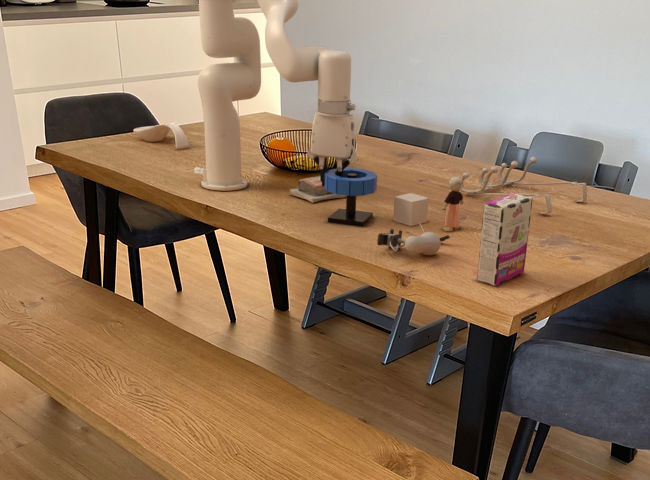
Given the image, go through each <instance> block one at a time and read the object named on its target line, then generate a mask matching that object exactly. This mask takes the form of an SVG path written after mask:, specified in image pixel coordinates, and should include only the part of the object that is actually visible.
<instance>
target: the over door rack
mask: <svg viewBox="0 0 650 480" xmlns="http://www.w3.org/2000/svg"><path fill="white" fill-rule="evenodd" d="M537 162H538V158H537V157H535V156H532V157H530V159H529V162H528V163H527V164H526V166H525V167H524V170H523V172H522V174H521V177H519V178H518V179H516V180H508V177H509V175H510V173H511V171H512V170H513V169H516V168H517V167H518V166H519V162H518V161H517V160H513V161H511V163H510V167H509V168H508V169H507V170H506V172H505V174H504V177H503V172H504V170H505V169H506V168H507V167H508V164H507V163H506V162H502V164H501V166H500V167H501V168H500V170H499V168H498V167H497V166H496V165H492V166H491V167H490V171H489V168H488V167H487V166H485V167H483V168H482V172H481V174H480V175H479V183H480V185H481V186H482V187H480V188H477V189H467V188H465V186H464V182H465V180H466V179H468V178H469V177H470V174H469V173H468V172H463V174H462V177H461V179H462V181H463V183H462V184H461V189H460V190H461V191H462V192H464V193H466V194H467V195H468V196H507V195H511V194H512V193H508V192H507V193H506V192H505V193H503V192H501V193H500V192H499V193H498V192H497V193H496V192H495V193H494V192H485V191H488V190H491V189H495V188H500V187H504V186H538V185H539V186H540V185H541V186H543V185H545V186H546V185H571V186H578V185H581V186H582V199H578V200H575V202H576V203H583V202H584V203H585V202H587V200H588V190H587V189H588V188H587V183H586V182H578V181H556V182H555V181H553V182H552V181H551V182H549V181H548V182H521V181H522V180H524V178H525V177H526V175H527V172H528V170H529V169H530V167H531V166H532V165H535V164H537ZM498 170H499V171H498ZM488 172H489V173H488ZM497 173H498V175H497V176H498V179H499V181H500V183H497V184H489V181H490V178H491V176H492V175H493V174H497ZM486 174H487V175H486ZM485 175H486V177H485V180H484V176H485ZM518 194H519V195H525V196H528V197H533V198H541V197H545V202H546V209H547V210H546V211H541V212H540V215H547V214H551V213H552V212H553V210H552V209H553V207H552V200H551V196H550V194H549V193H547V194H542V195H541V193H518Z"/></svg>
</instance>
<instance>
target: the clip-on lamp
mask: <svg viewBox="0 0 650 480" xmlns="http://www.w3.org/2000/svg"><path fill="white" fill-rule="evenodd" d="M419 227H420V229H421V230H422V232H423V233H422V234H420V235H410V236H408V237H407V238H402V237H403V230H401V229H400V230H399V231H398V234H394V233H395V232H394V231H395V230H394V228H391V229H390V230H389V232H380V233H378V235H377V243H376V244H377V246H385V247H388V249H391V250H392V251H393V252H395V253H396V252H398V250H399V251H400V250H401V248H403V247H405V249H406V251H408V252H409V253H410V252H411V253H419V252H420V253H421V255H425V256H433V255H436V254H437V253H438V252H439V250H440V249H441V242H445V241H446V240H449V239H451V238H453V235H449V234H447V235H445V236H442V237H439V235H438V234H436V233H435V232H432V231H426V232H425V230H424V227H423V226H422V223H421V224H419ZM395 247H396V248H395Z"/></svg>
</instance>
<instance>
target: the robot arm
mask: <svg viewBox="0 0 650 480" xmlns="http://www.w3.org/2000/svg"><path fill="white" fill-rule="evenodd" d="M256 3H257V4H258V6H259V8H260V10H261V11H262V14H263V15H264V17H265V19H266V23H265V27H264V41H265V42H264V43H265V48H266V52H267V55H268V56H269V58H270V60H271V62H272V64H273V65H274V68H275V69H276V70H277V72H278V74H279V75H280V76H281V77H282V78H283V79H284V80H285V81H287V82H290V83H304V82H316V81H317V111H315V112H314V117H313V121H312V126H311V134H310V135H311V137H310V147H309V148H308V150H307V152H306V157H308V158H309V159H311V160H313V161H314V163H315V164H316V165H317V166H318V169H319V170H320V171H319V173H320V175H319V176H320V181H321V182H322V186H324V185H325V172H327V171H328V170H330V168H329V167H328V158H333V159H336V169H337V171H335V174H336V176H340V177H343V170H344V169H345V168H348V166H350V165H352V164H354V163H357V162H358V161H359V157H358V155H357V151H356V129H355V118H354V114H353V113H351V111H356V103H355V104H353V103H352V101H351V80H352V79H351V78H352V77H351V76H352V56H351V54H350V53H349V52H348V51H344V50H338V49H331V48H329V47H325V46H320V45H312V46H311V45H310V46H294V45H293V43H292V41H291V40H290V38H289V36H288V34H287V31H286V28H285V24H286V23H287V22H288V21H290V20H291V19H293V17H294V16H295V15H296V13H297V12H298V9H299V1H298V0H256ZM198 12H199V14H198V15H199V27H200V29H199V31H200V41H201V46H202V50H203V52H204V54H205V55H206V56H208V57H210V58H213V59H227V58H233V62H222V63H213V64H209V65H207V66H205V67H203V68H202V69H201V71H199V74H198V77H197V87H198V91H199V92H198V93H199V96H200V100H201V107H202V114H203V116H202V117H203V130H204V151H205V152H204V153H205V168H203V167H199V166H195V167H194V169H193V173H194V176H195V177H196V176H197V177H202V180H201V182H200V185H201V187H203V188H204V189H207V190H210V191H211V190H212V191H219V192H221V191H222V192H223V191H224V192H226V191H227V192H228V191H229V192H230V191H237V190H242V189H245V188H247V187H248V180H247V179H245V178H243V177H242V148H241V147H242V146H241V145H242V144H241V121H240V117H239V116H240V115H239V113H238V111H237V109H236V107H235V106H234V103H233V102H238V101H245V100H252V99H253V98H255V97H257V96H258V94H259V92H260V90H261V87H262V59H261V58H262V57H261V56H262V55H261V39H260V34H259V31H258V29H257V27H256V25H255V24H254V22H253V21H252V20H250V19H249V18H246V17H241V16H238V17H237V16H236V17H235V16H234V1H233V0H198Z"/></svg>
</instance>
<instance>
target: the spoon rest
mask: <svg viewBox="0 0 650 480" xmlns="http://www.w3.org/2000/svg"><path fill="white" fill-rule="evenodd" d="M132 130H133V132H134V134H135V135H136V136H137V137H138V138H139V139H141V140H143V141H145V142H151V143H152V142H153V143H155V142H161V141H163V139H165V138H166V137H167V136H168V135H169V133H170V130H171V132H172V134H173V135H174V141H175V148H176V150H179V149H186V148H188V147H189V140H188V138H187V136H186V134H185V132H184V130H183V129H182V127H180V126H179V125H178V124H177V123H176V122H173V121H172V122H170V123H160V124H156V125H150V126H148V125H147V126H140V127H135V128H134V129H132Z"/></svg>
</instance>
